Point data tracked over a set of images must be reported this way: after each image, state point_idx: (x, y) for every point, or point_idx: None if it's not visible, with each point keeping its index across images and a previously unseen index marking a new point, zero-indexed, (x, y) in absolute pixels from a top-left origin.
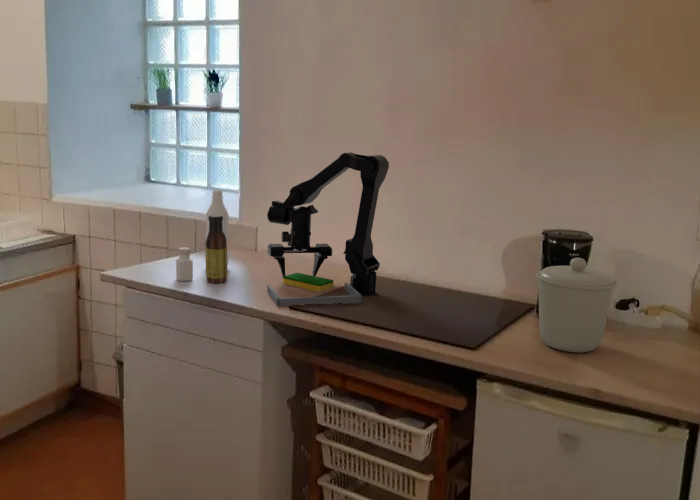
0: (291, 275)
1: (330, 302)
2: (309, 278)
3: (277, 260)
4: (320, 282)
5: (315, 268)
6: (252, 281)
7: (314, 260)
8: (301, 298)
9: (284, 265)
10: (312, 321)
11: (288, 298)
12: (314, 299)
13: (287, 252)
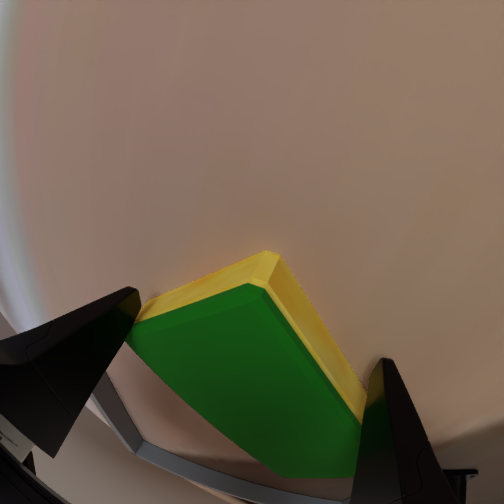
0: (173, 351)
1: (262, 491)
2: (278, 436)
3: (3, 347)
4: (299, 473)
5: (357, 465)
6: (23, 208)
7: (396, 500)
8: (184, 477)
9: (80, 405)
10: (198, 486)
11: (154, 464)
12: (217, 486)
13: (30, 477)
